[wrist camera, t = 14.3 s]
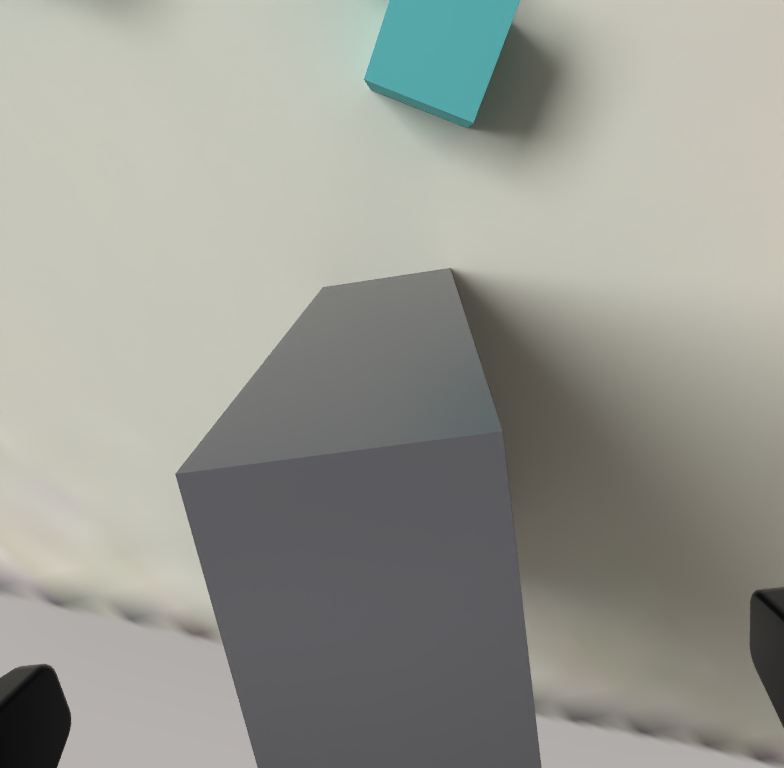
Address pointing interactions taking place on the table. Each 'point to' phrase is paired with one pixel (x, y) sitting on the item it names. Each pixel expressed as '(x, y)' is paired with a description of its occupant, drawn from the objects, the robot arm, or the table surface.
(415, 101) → the alien figure
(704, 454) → the table surface
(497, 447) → the grey matte slab
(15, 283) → the table surface
